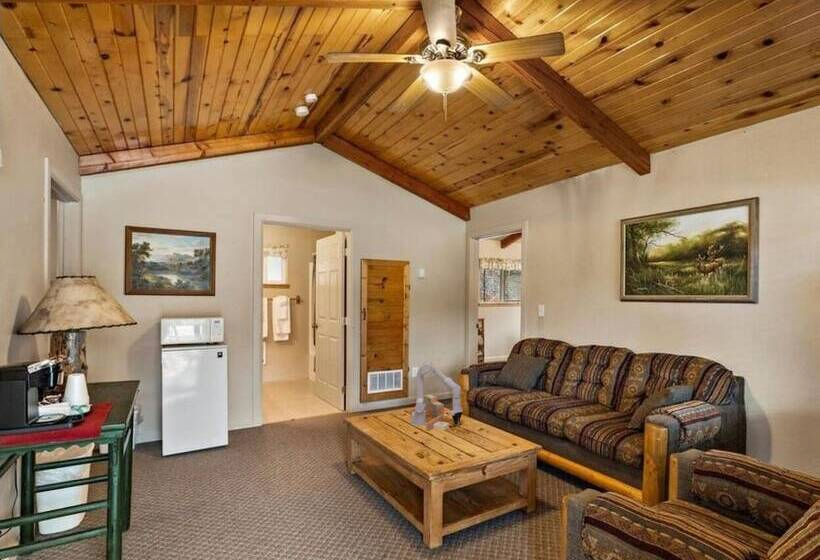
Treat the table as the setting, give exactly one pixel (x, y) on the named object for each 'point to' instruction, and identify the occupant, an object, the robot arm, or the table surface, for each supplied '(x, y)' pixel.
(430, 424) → the wall
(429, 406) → the stack of blocks
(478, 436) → the table surface
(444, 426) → the beige square frame
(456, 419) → the robot arm
